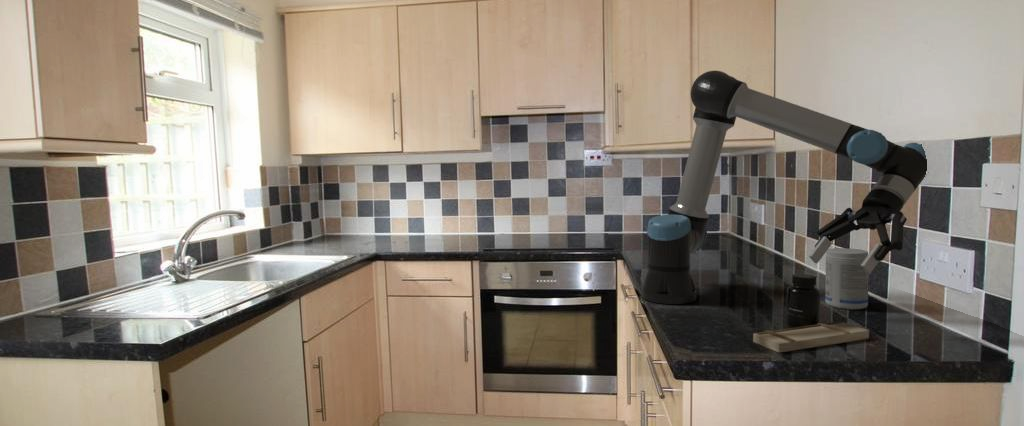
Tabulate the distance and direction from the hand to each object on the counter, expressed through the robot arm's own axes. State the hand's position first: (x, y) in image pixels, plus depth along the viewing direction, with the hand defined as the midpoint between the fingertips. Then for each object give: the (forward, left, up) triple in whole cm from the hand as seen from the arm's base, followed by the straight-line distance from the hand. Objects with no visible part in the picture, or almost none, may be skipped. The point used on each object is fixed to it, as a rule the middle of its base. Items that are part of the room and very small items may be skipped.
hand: (837, 264), depth 122 cm
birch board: (+8, -16, -14) cm, 22 cm away
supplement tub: (-10, +15, -14) cm, 23 cm away
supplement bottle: (0, -10, -14) cm, 17 cm away
